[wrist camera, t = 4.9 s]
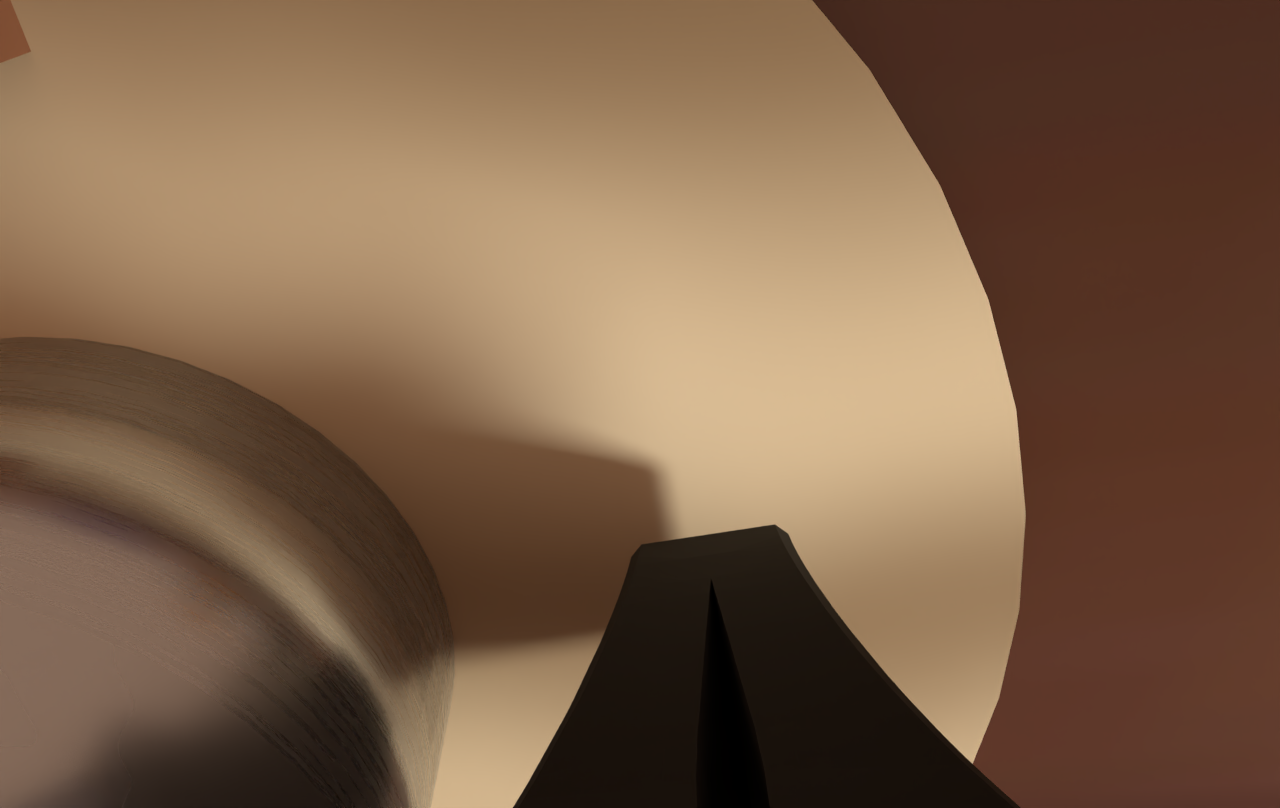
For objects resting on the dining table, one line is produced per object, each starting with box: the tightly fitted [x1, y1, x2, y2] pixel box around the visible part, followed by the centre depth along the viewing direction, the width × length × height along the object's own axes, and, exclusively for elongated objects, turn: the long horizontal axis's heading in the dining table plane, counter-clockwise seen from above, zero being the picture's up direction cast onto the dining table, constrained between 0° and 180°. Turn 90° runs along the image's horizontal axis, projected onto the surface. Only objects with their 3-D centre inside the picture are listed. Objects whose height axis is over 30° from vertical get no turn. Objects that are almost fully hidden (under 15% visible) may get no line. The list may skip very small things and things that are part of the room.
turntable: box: [0, 0, 1026, 808], centre depth 11 cm, size 18×18×4 cm
